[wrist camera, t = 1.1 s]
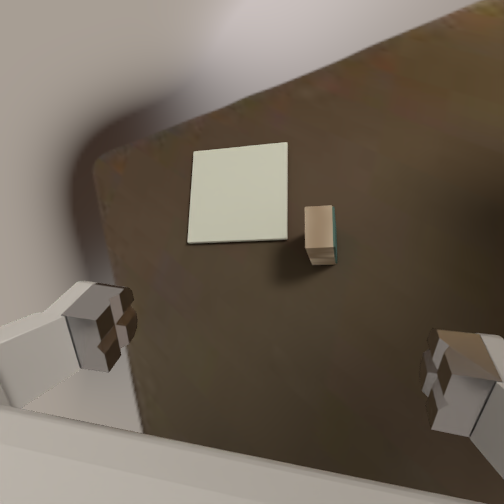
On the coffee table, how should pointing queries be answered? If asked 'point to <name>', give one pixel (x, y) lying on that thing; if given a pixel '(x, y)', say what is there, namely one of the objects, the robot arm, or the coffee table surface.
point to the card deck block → (321, 235)
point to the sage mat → (239, 194)
